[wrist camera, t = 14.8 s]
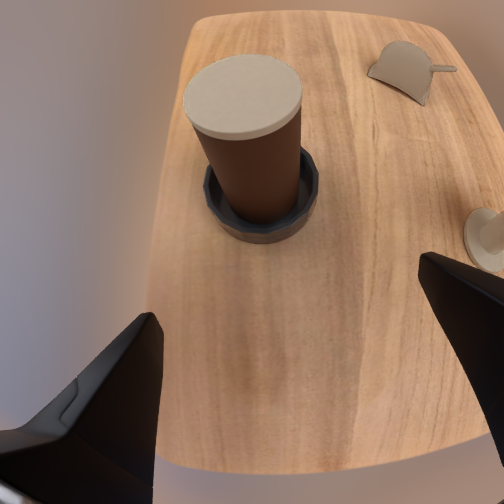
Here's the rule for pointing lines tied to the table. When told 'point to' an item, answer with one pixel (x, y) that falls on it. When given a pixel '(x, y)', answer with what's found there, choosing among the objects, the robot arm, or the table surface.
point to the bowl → (272, 230)
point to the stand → (485, 239)
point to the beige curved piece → (407, 69)
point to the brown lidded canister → (250, 132)
